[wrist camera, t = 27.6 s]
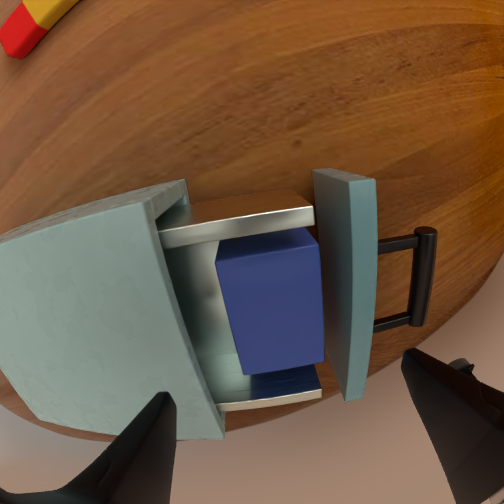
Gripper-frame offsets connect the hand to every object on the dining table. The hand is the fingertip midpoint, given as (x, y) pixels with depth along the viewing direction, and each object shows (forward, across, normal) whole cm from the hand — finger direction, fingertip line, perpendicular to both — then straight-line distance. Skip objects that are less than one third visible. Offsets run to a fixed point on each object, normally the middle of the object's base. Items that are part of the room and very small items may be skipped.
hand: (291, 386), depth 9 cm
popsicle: (+10, +11, -26) cm, 30 cm away
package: (+8, 0, 0) cm, 8 cm away
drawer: (+9, 0, 0) cm, 9 cm away
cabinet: (+10, +12, 0) cm, 16 cm away
